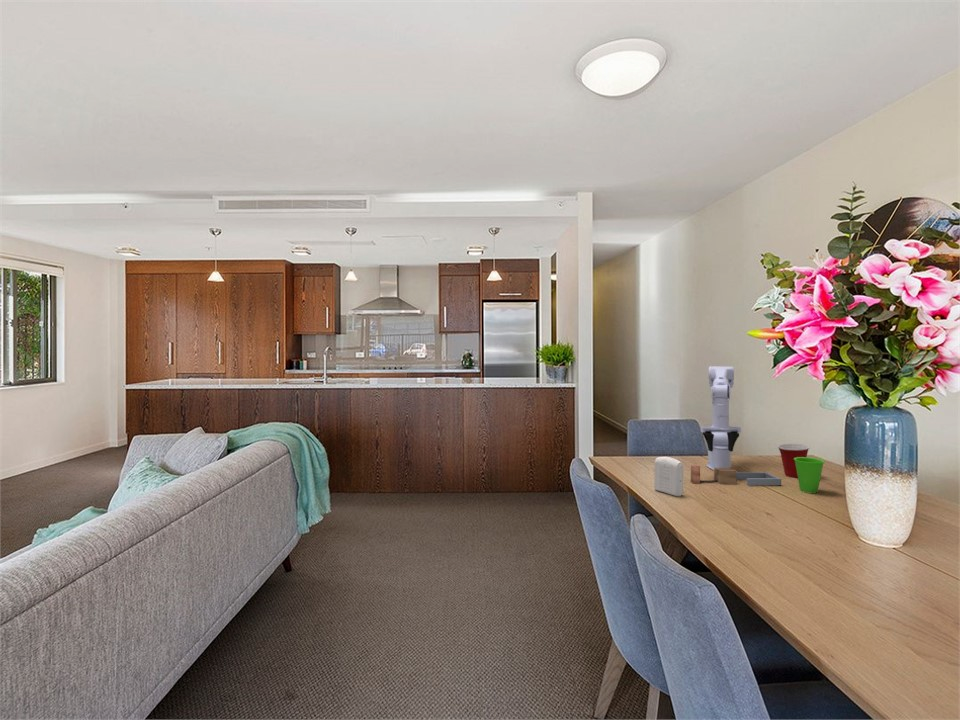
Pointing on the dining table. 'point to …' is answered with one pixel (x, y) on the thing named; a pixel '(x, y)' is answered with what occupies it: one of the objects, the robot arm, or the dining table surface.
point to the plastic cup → (792, 457)
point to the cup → (809, 473)
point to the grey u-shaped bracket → (759, 478)
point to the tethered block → (715, 475)
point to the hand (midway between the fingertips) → (720, 450)
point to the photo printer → (669, 476)
